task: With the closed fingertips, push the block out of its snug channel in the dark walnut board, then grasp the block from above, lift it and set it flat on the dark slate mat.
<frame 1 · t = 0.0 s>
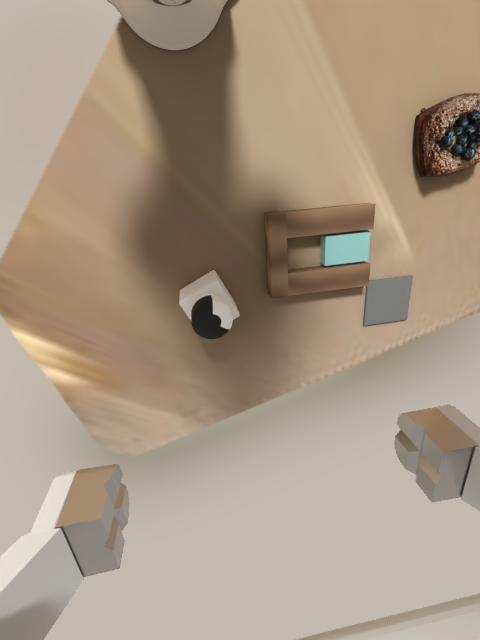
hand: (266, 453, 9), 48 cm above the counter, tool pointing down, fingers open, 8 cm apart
block: (341, 246, 58), on the counter
channel board: (316, 249, 57), on the counter
pastry: (444, 138, 54), on the counter
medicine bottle: (207, 295, 58), on the counter
slate mat: (386, 300, 64), on the counter
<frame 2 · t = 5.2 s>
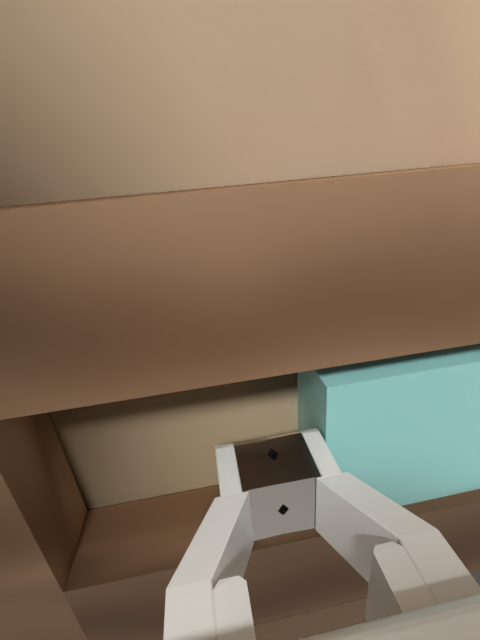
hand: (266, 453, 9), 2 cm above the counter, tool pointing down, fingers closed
block: (403, 387, 12), on the counter
channel board: (249, 413, 11), on the counter
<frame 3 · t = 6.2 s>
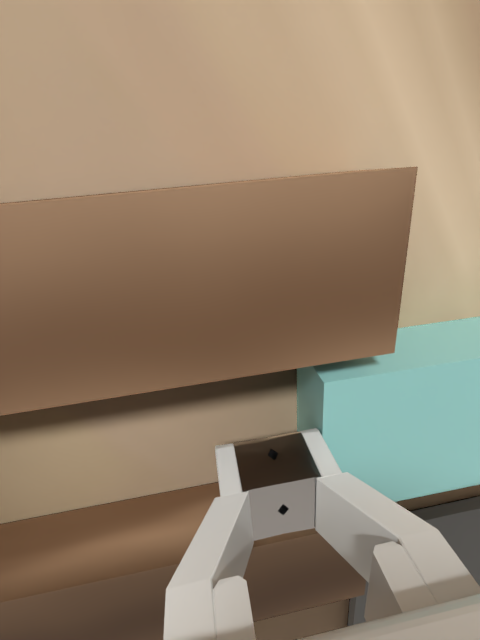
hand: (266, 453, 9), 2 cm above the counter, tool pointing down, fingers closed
block: (400, 385, 12), on the counter, touching gripper
channel board: (69, 440, 10), on the counter
slate mat: (436, 563, 16), on the counter
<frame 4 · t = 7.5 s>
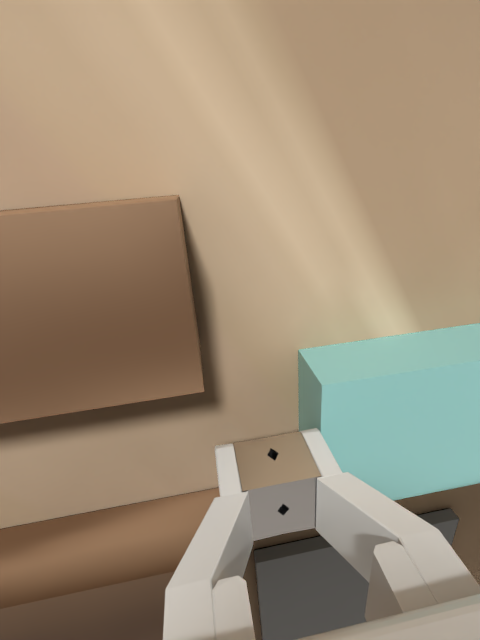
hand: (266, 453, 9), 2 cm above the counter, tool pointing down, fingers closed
block: (398, 386, 12), on the counter, touching gripper
slate mat: (349, 589, 16), on the counter
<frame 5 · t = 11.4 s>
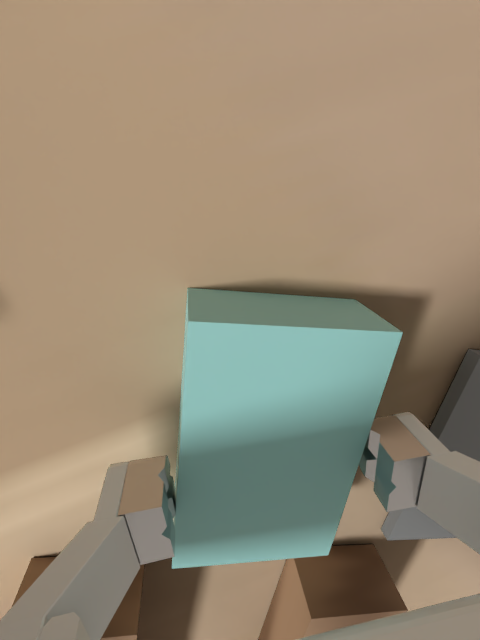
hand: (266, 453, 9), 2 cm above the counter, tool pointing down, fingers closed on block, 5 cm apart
block: (255, 405, 11), on the counter, touching gripper
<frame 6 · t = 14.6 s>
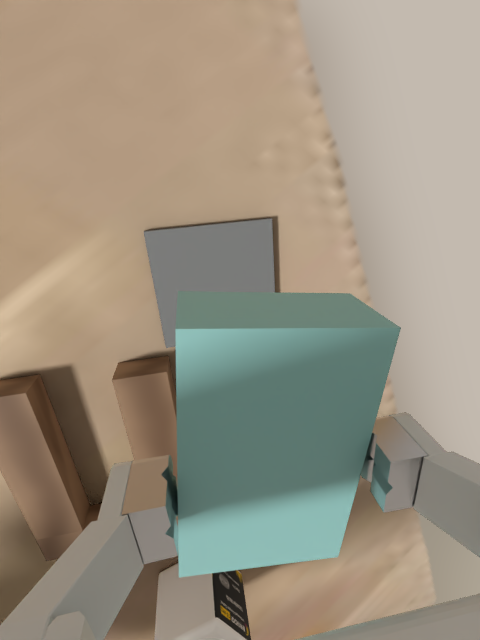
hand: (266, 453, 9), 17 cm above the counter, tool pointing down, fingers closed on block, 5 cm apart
block: (256, 408, 11), point 15 cm above the counter, touching gripper
channel board: (107, 453, 29), on the counter
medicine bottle: (201, 570, 38), on the counter
slate mat: (215, 284, 25), on the counter
when the fingers open (4 cm above the counter, at t = 17.5 s): block drops 1 cm, resting on slate mat.
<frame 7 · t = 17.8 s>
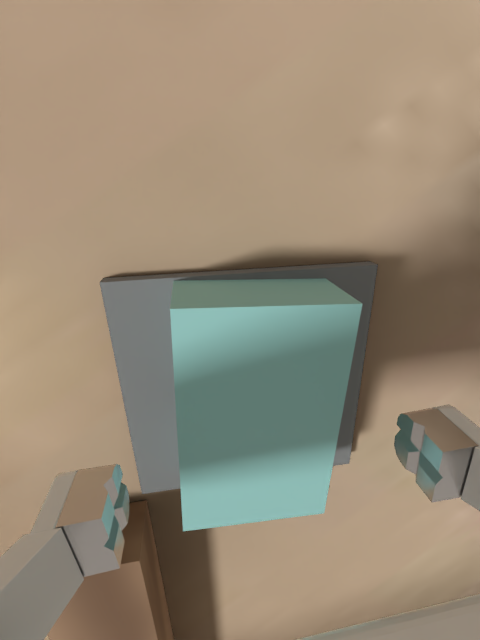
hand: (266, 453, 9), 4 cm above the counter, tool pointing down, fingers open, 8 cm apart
block: (247, 384, 12), resting on slate mat
slate mat: (246, 382, 13), on the counter
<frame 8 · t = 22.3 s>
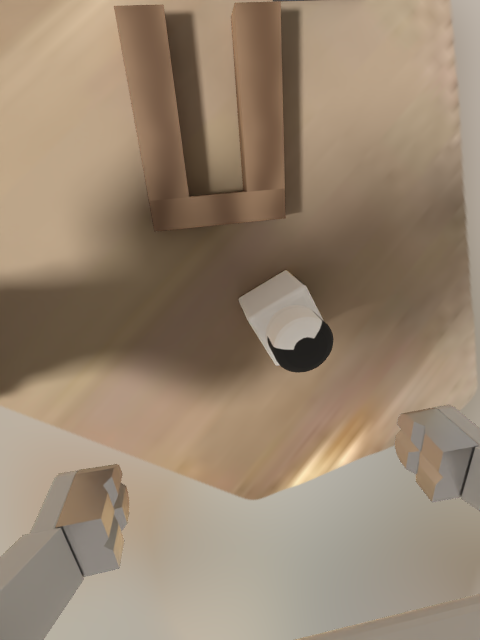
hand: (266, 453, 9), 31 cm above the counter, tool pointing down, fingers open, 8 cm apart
channel board: (209, 130, 33), on the counter
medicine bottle: (274, 305, 42), on the counter
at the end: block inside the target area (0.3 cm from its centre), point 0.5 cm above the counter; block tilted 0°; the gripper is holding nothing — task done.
